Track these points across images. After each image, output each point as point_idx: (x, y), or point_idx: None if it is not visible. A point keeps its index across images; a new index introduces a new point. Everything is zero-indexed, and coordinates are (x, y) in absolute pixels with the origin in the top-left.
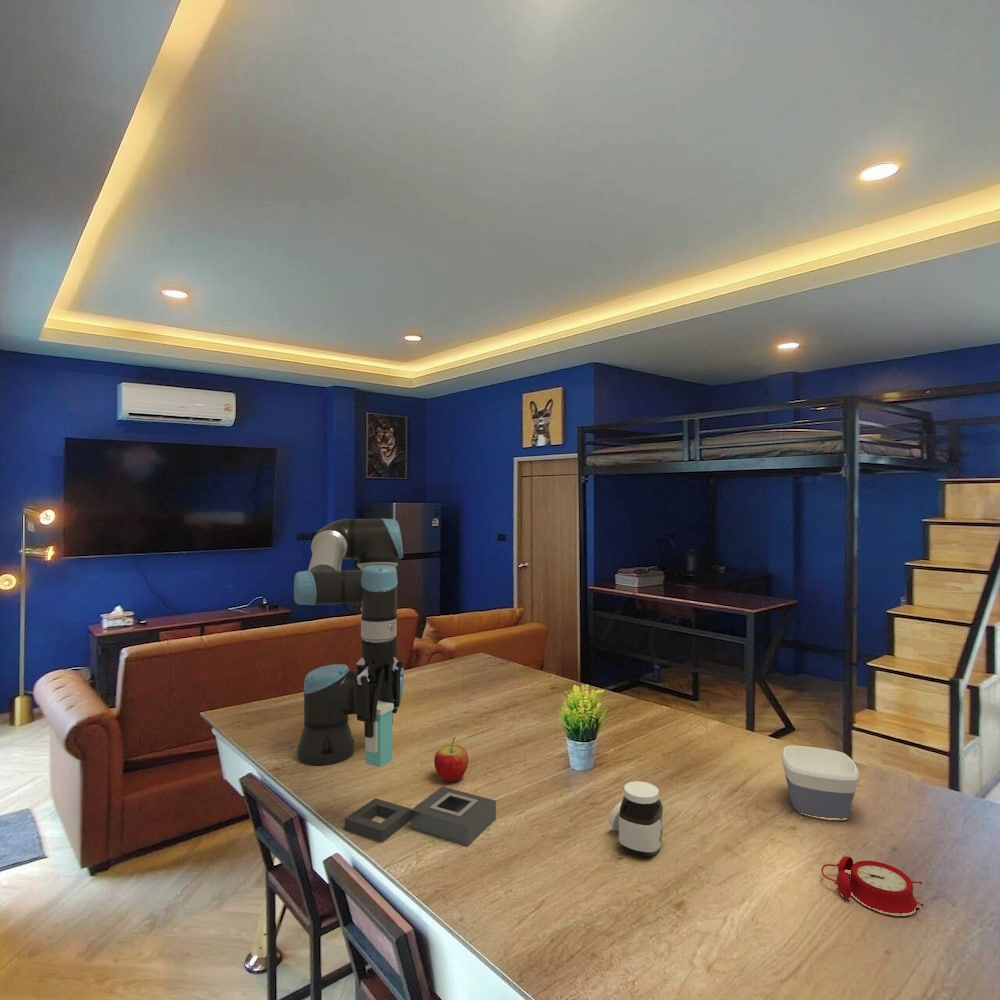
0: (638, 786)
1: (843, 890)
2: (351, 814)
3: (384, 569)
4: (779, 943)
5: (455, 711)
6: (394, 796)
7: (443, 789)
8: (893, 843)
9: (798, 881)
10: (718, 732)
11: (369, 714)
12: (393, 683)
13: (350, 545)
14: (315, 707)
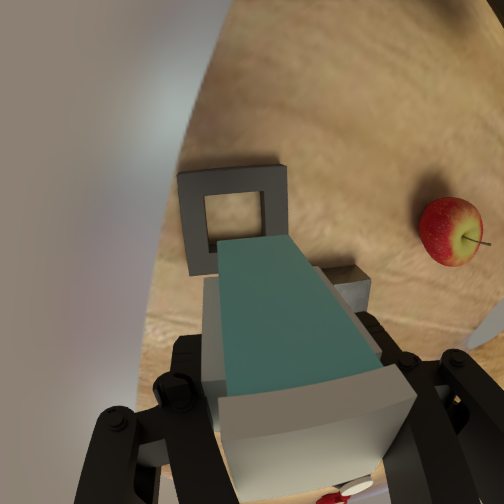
0: (362, 486)
1: (322, 500)
2: (198, 173)
3: None
4: (268, 499)
5: None
6: (341, 164)
7: (361, 289)
8: (384, 482)
9: (332, 487)
10: None
11: (158, 484)
12: (497, 490)
13: None
14: None
